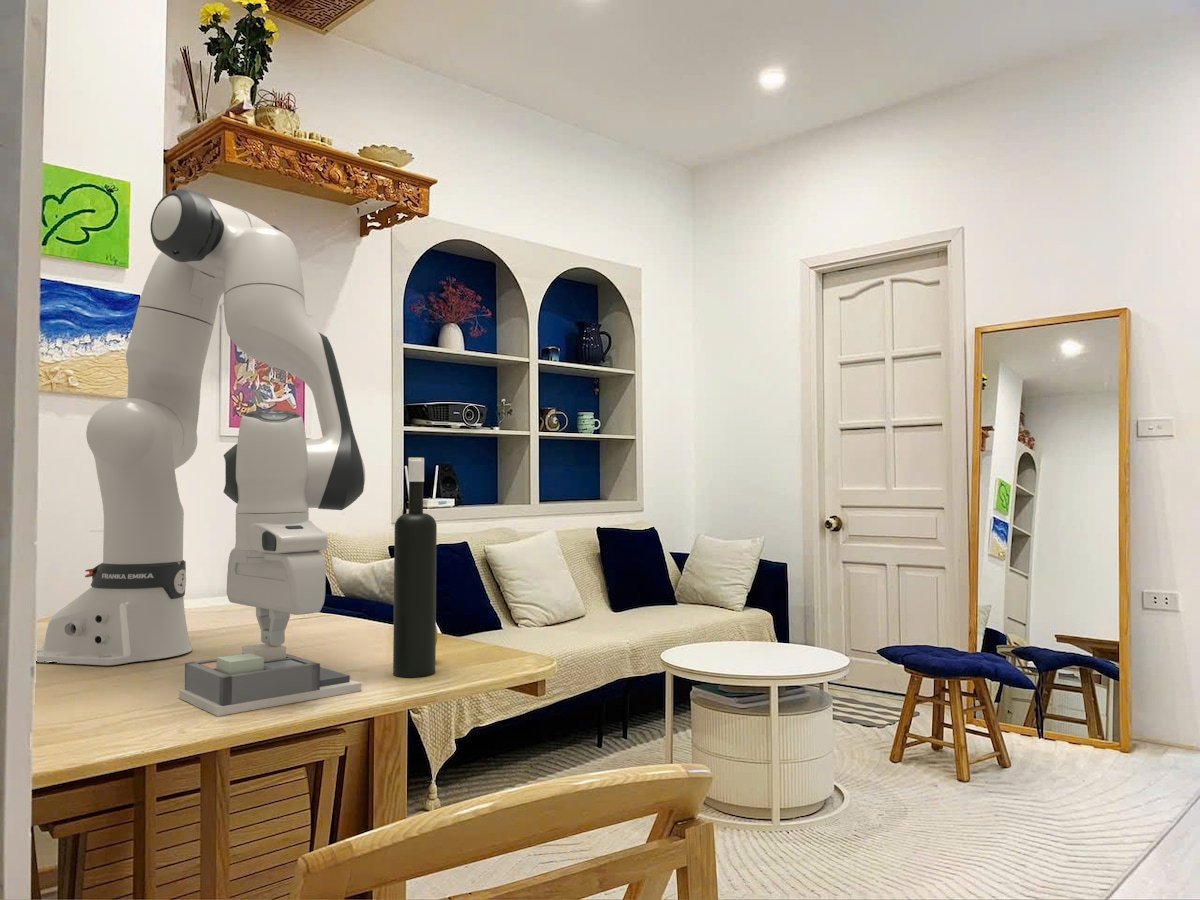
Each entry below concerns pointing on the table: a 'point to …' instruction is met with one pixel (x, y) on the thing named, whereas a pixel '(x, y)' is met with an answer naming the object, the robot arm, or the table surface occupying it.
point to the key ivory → (266, 651)
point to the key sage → (240, 664)
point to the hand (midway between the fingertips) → (272, 643)
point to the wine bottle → (415, 584)
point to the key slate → (281, 664)
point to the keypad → (261, 686)
